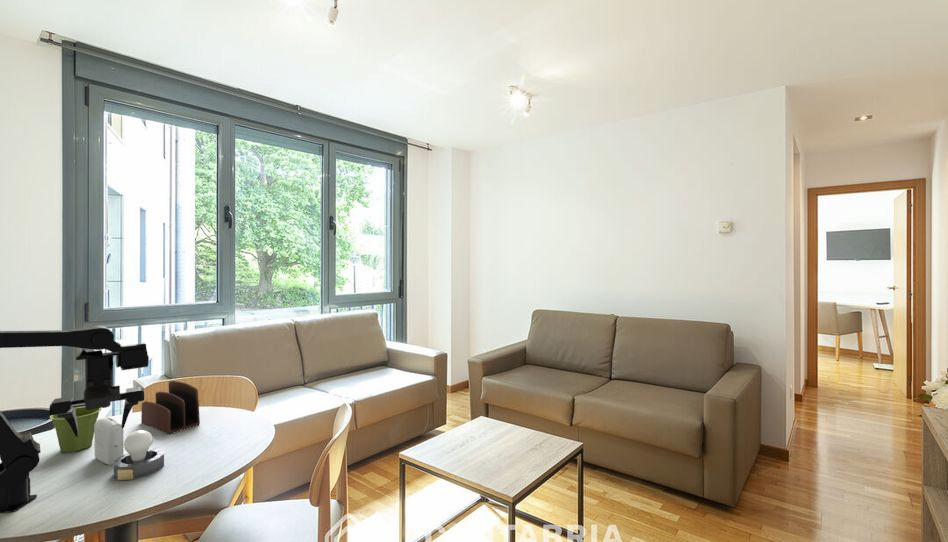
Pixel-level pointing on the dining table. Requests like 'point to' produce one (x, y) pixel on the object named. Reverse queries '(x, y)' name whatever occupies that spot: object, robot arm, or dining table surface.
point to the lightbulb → (138, 445)
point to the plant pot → (85, 430)
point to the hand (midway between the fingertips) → (100, 432)
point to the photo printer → (108, 440)
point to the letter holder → (173, 409)
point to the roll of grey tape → (138, 465)
